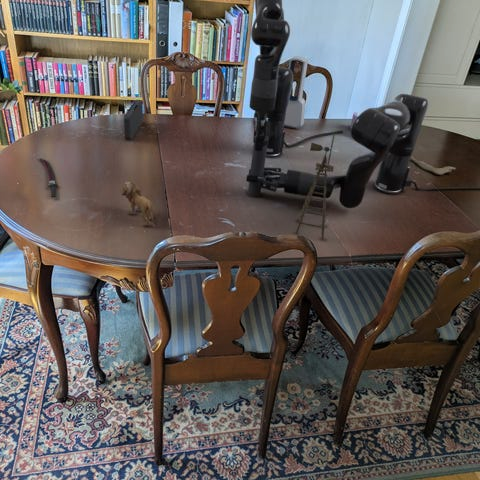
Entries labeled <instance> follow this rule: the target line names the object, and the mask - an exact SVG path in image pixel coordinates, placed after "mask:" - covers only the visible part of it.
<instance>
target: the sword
mask: <svg viewBox="0 0 480 480" xmlns="http://www.w3.org/2000/svg"><path fill="white" fill-rule="evenodd" d="M40 161H41V162H42V163H43V165H44V166H45V169H46V173H47V176H48V185H47V188H50V198H56V197H57V189H56V188H57V187H59V185H58V184H57V183H56V180H55V176H54V172H53V169H52V167H51V164H50V163H49V161H48V160H46V159H43V158H40Z"/></svg>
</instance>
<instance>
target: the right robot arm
mask: <svg viewBox="0 0 480 480" xmlns="http://www.w3.org/2000/svg"><path fill="white" fill-rule="evenodd" d="M428 106H429V100H428V99H427V98H426V97H422V96H417V95H413V94H408V93H400V94H398V95H396V96H395V97H394V98H393V99H392V100H391V101H389V102H386V103H385V104H382V105H381V106H378V107H369V108H367V109H364V110H363V111H362V112H361V113H360V114H359V115H358V117H357V118H356V120H355V121H354V123H353V125H352V128H351V129H350V136H351V139H352V140H354V141H355V142H356V143H357V144H359V145H361V146H362V147H364V148H366V149H367V150H369V152H368V153H363V154H360V155H358V156H357V157H355V158H353V159H352V161H351V162H350V163H349V166H348V168H347V170H346V173H345V174H343V175H332V176H328V175H327V180H326V187H327V189H326V199H329V198H331V196H332V194H333V192H334V190H336V189H339V195H338V196H339V197H338V199H339V200H338V201H339V203H340V205H341V206H342V207H344V208H347V209H354V208H358V207H359V206H360V205H361V204H362V202H363V199H364V196H365V193H366V192H365V191H366V188H367V185H368V184H369V181H370V179H371V177H372V176H373V173H374V171H375V170H376V169H377V167H378V166H379V169H378V172H377V175H376V179H375V182H374V188H375V189H376V190H378V191H379V192H381V193H384V194H388V195H398V194H400V193H401V192H402V193H403V192H404V190H405V187H406V188H408V187H409V188H410V187H411V186H412V184H413V185H414V187H415V189H416V190H417V191H424V192H425V191H428V192H429V191H441V190H442V191H444V190H480V186H479V187H478V186H450V187H449V186H447V187H430V188H420V187H418V184H417V183H416V181H414V180H413V179H411V178H410V177H409V173H410V171H411V166H410V161H411V156H412V157H413V152H414V149H415V147H416V142H417V140H418V136H419V133H420V130H421V127H422V125H423V122H424V119H425V116H426V113H427V111H428ZM408 126H409V127H408ZM407 127H408V128H407ZM250 170H251V168H249V169H248V174H247V175H246V179H245V180H246V182H248V183H249V182H252V183H258V185H259V187H260V188H261V189H263V190H267V191H269V192H273V193H276V192H277V189H283V192H284V193H285V194H291V195H297V196H304V197H308V193H309V192H310V190H311V186H312V185H313V182H314V178H316V173H311V172H307V171H300V170H295V169H288V170H287V171H286V173H284V172H282V168H281V167H264V173H263V177H259V176H254V175H250ZM258 177H259V178H258ZM319 178H324V175H319ZM316 185H317V186H323V187H324V180H321V179H318V180H317V183H316ZM313 192H318V193H324V188H320V187H315V188H314V191H313ZM311 197H313V198H319V199H323V197H324V195H321V194H315V193H313V194H312V196H311Z"/></svg>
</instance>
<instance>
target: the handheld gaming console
mask: <svg viewBox="0 0 480 480" xmlns="http://www.w3.org/2000/svg"><path fill="white" fill-rule="evenodd" d="M143 107H144V105H143V100H142V99H136V100H135V101H134V102H133V103H132V104H131V106H130V107H129V108H128V109H127V111H126V113H125V114H124V115H123V116H124V117H123V125H124V126H123V127H124V128H123V129H124V139H125V140H128V141H129V140H130V141H132V139H133V138H134V137H135V135H136V133H137V132H138V131H139V129H140V128H141V126H142V124H143V120H144V113H143V112H144V111H143Z"/></svg>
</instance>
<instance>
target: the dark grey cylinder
mask: <svg viewBox="0 0 480 480" xmlns="http://www.w3.org/2000/svg"><path fill="white" fill-rule="evenodd" d="M266 151H267V145H266V146H263V147H262V151H256V150H255V144H254V143H253V147H252V155H251V162H250V169H251V170H250V169H249V170H250V175H254V176H259V177H263V173H264V168H265V166H266V165H265V164H266V158H267V157H266ZM259 177H258V178H259ZM247 186H248V187H247V195H248V196H250V197H252V198H258V197H260V196H261V193H262V192H261V191H262V188H260V187H259V185H258V183H252V182H248V185H247Z"/></svg>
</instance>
